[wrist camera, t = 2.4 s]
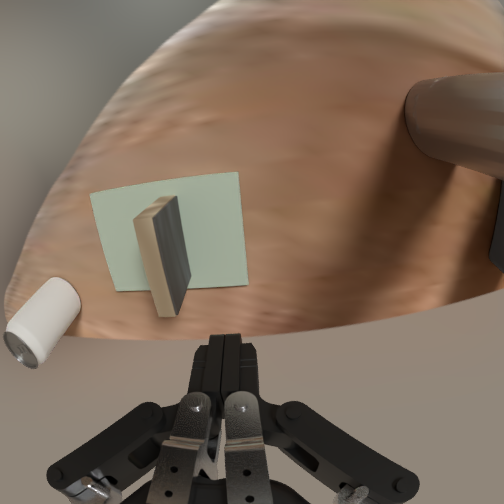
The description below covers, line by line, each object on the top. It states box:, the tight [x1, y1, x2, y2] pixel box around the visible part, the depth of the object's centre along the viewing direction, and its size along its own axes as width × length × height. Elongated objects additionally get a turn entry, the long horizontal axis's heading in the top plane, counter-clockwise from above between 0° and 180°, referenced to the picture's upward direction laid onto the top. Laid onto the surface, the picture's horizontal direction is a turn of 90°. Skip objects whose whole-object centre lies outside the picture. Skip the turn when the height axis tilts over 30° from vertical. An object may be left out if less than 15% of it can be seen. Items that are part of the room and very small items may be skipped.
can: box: [3, 277, 81, 369], centre depth 26 cm, size 6×6×12 cm
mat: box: [90, 172, 249, 291], centre depth 27 cm, size 16×12×1 cm
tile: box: [133, 195, 191, 317], centre depth 24 cm, size 2×9×7 cm, turn 4°
